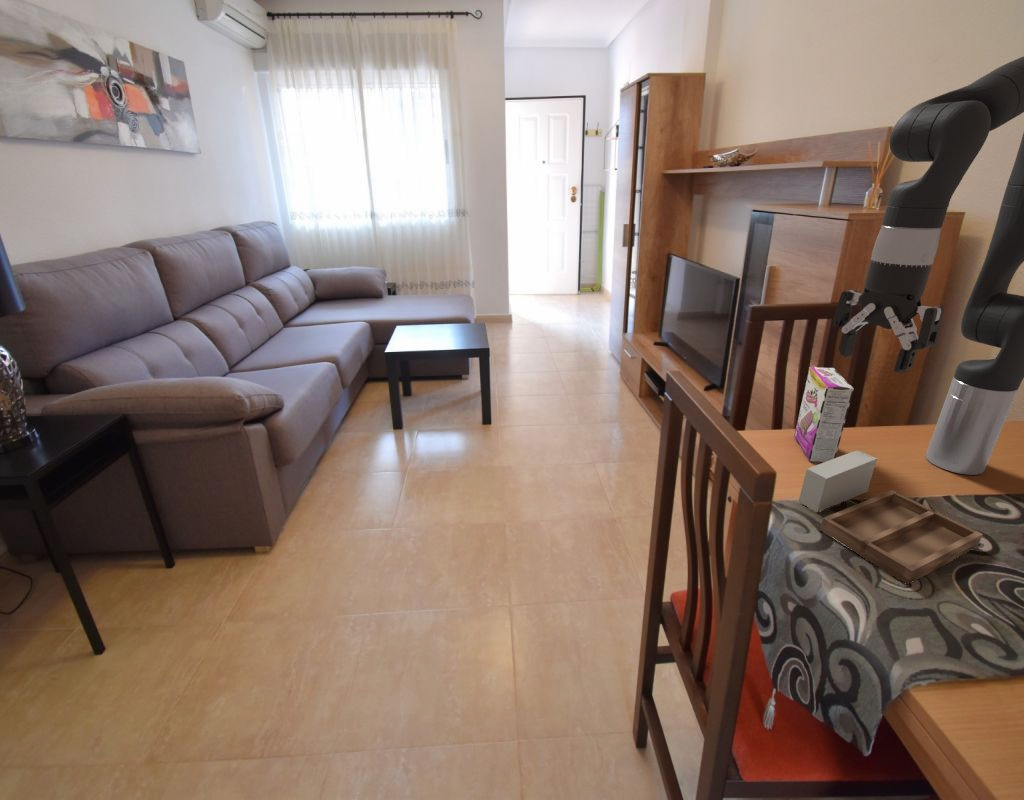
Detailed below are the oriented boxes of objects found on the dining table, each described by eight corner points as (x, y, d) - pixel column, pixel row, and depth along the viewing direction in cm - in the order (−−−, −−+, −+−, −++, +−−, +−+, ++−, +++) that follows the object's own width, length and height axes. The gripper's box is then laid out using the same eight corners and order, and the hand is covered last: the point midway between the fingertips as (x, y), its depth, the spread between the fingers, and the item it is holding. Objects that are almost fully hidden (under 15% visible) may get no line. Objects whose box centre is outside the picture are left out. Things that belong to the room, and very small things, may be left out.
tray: (888, 502, 92) (892, 490, 91) (977, 547, 81) (983, 534, 80) (819, 530, 85) (822, 518, 84) (906, 585, 74) (912, 571, 73)
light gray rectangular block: (847, 482, 98) (857, 449, 95) (866, 492, 95) (877, 458, 92) (798, 503, 92) (806, 468, 89) (816, 513, 89) (826, 478, 86)
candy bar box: (791, 436, 115) (808, 365, 108) (816, 438, 114) (835, 367, 107) (807, 462, 105) (826, 386, 98) (834, 464, 104) (856, 388, 97)
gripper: (972, 264, 72) (934, 374, 79) (869, 250, 84) (843, 347, 91) (940, 268, 69) (904, 382, 76) (838, 254, 81) (814, 353, 88)
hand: (871, 363), depth 83 cm, fingers open, 8 cm apart
